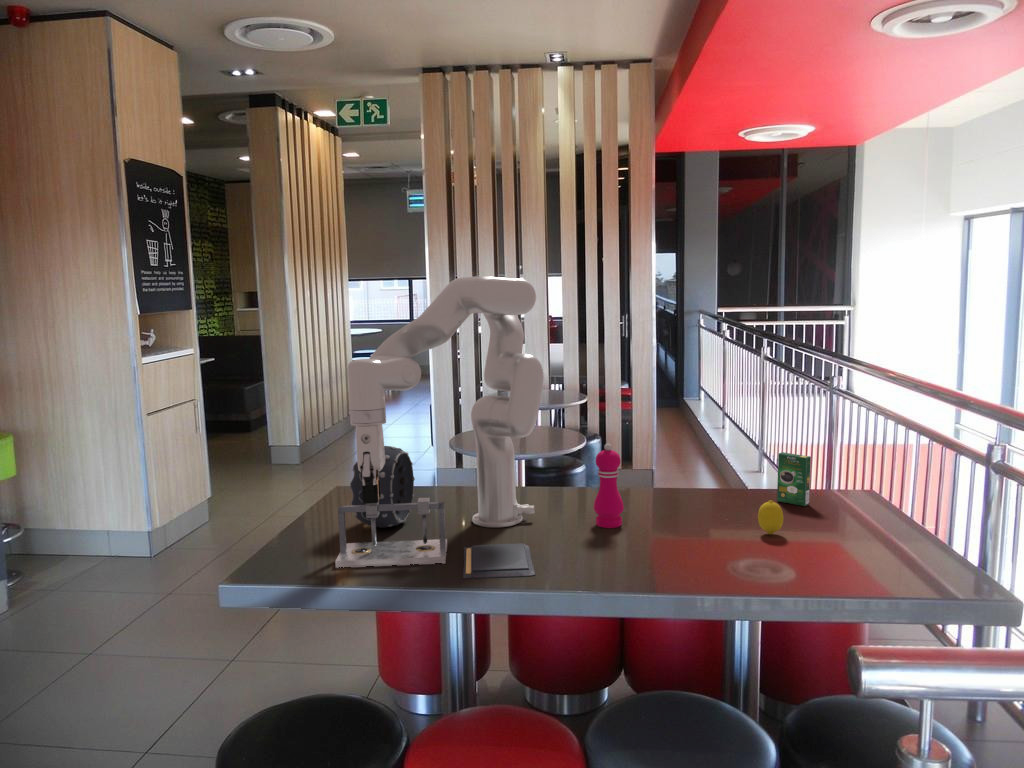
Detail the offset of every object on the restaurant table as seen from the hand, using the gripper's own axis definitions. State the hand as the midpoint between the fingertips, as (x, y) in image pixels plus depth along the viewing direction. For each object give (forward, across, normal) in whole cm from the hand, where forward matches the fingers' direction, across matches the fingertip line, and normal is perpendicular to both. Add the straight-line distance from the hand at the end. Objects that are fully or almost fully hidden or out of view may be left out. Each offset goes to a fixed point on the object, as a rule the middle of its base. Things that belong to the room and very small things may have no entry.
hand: (372, 499), depth 166 cm
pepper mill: (+13, +17, -55) cm, 59 cm away
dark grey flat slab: (+14, -6, -27) cm, 31 cm away
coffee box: (+13, +28, -106) cm, 110 cm away
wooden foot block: (+10, 0, 0) cm, 10 cm away
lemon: (+13, +4, -90) cm, 91 cm away
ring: (+13, +24, 0) cm, 27 cm away
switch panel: (+13, 0, -4) cm, 13 cm away
